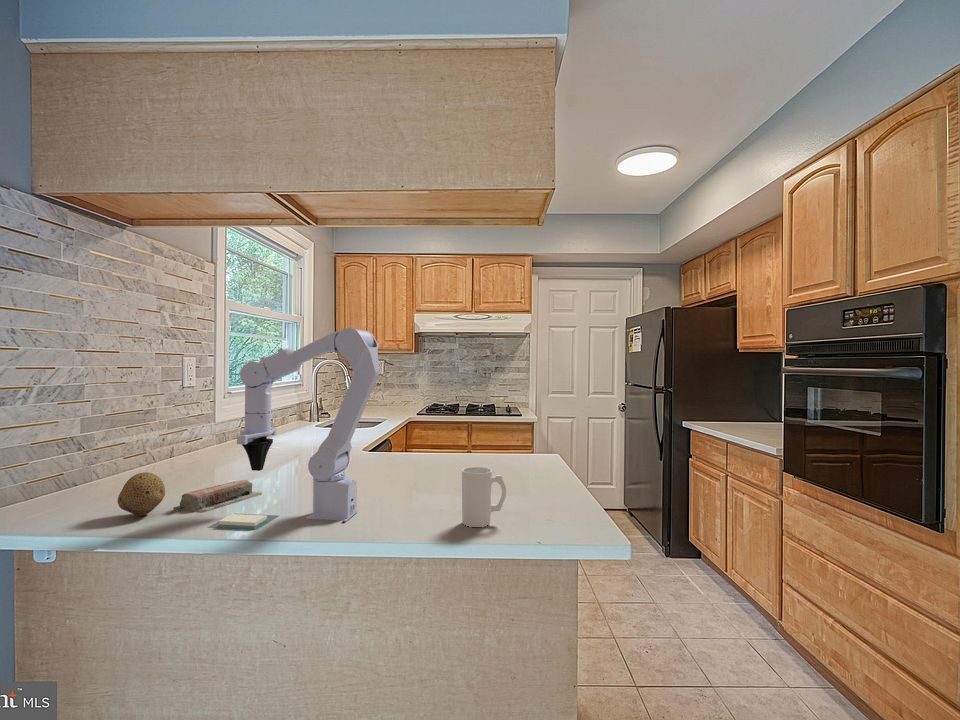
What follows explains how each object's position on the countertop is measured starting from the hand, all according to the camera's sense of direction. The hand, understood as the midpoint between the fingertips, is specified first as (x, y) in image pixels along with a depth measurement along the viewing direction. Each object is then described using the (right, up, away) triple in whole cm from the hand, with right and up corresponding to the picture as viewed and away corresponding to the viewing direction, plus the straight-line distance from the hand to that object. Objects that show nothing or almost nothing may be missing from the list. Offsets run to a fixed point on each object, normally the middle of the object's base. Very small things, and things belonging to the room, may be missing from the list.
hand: (257, 470), depth 125 cm
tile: (+2, -9, -8) cm, 12 cm away
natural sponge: (-25, -10, -4) cm, 27 cm away
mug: (+53, -11, -7) cm, 55 cm away
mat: (+1, -10, -9) cm, 13 cm away
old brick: (-13, -11, +8) cm, 18 cm away
